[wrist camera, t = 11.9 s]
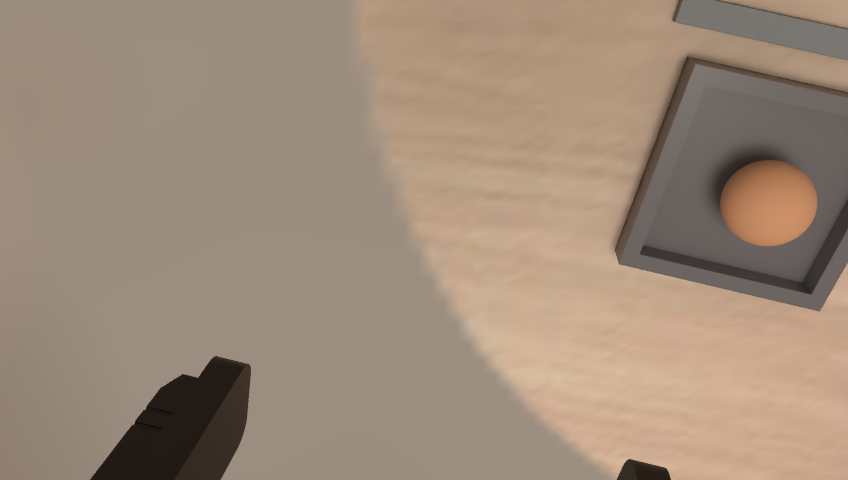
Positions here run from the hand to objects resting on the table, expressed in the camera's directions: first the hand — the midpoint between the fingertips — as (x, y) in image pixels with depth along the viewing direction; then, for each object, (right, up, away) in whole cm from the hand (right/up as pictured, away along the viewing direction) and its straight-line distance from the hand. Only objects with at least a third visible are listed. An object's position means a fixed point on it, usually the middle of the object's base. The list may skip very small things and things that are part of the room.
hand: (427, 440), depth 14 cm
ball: (+20, +6, +24) cm, 32 cm away
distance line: (+22, +15, +23) cm, 35 cm away
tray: (+20, +8, +27) cm, 35 cm away
